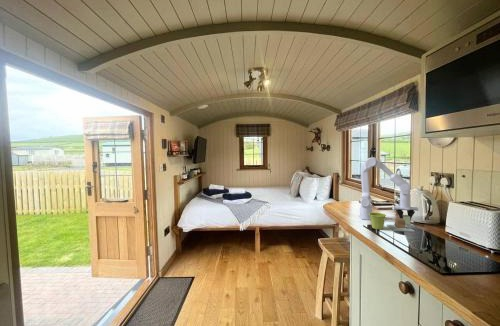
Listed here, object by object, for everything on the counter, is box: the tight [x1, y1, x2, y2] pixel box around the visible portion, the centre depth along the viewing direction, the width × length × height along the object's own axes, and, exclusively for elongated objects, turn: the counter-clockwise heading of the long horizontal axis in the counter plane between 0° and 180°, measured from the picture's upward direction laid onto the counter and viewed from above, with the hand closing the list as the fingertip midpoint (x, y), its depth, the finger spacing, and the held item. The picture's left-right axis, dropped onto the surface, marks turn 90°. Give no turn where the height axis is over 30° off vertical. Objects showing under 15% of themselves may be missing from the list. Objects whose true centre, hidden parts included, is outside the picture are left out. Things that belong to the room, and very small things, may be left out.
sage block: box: [403, 214, 411, 225], centre depth 146 cm, size 4×4×5 cm
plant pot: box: [369, 212, 387, 230], centre depth 138 cm, size 9×9×9 cm
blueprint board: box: [386, 224, 416, 233], centre depth 136 cm, size 11×11×1 cm
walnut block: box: [394, 217, 406, 228], centre depth 136 cm, size 4×4×5 cm
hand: (405, 221), depth 146 cm, fingers closed on sage block, 4 cm apart
